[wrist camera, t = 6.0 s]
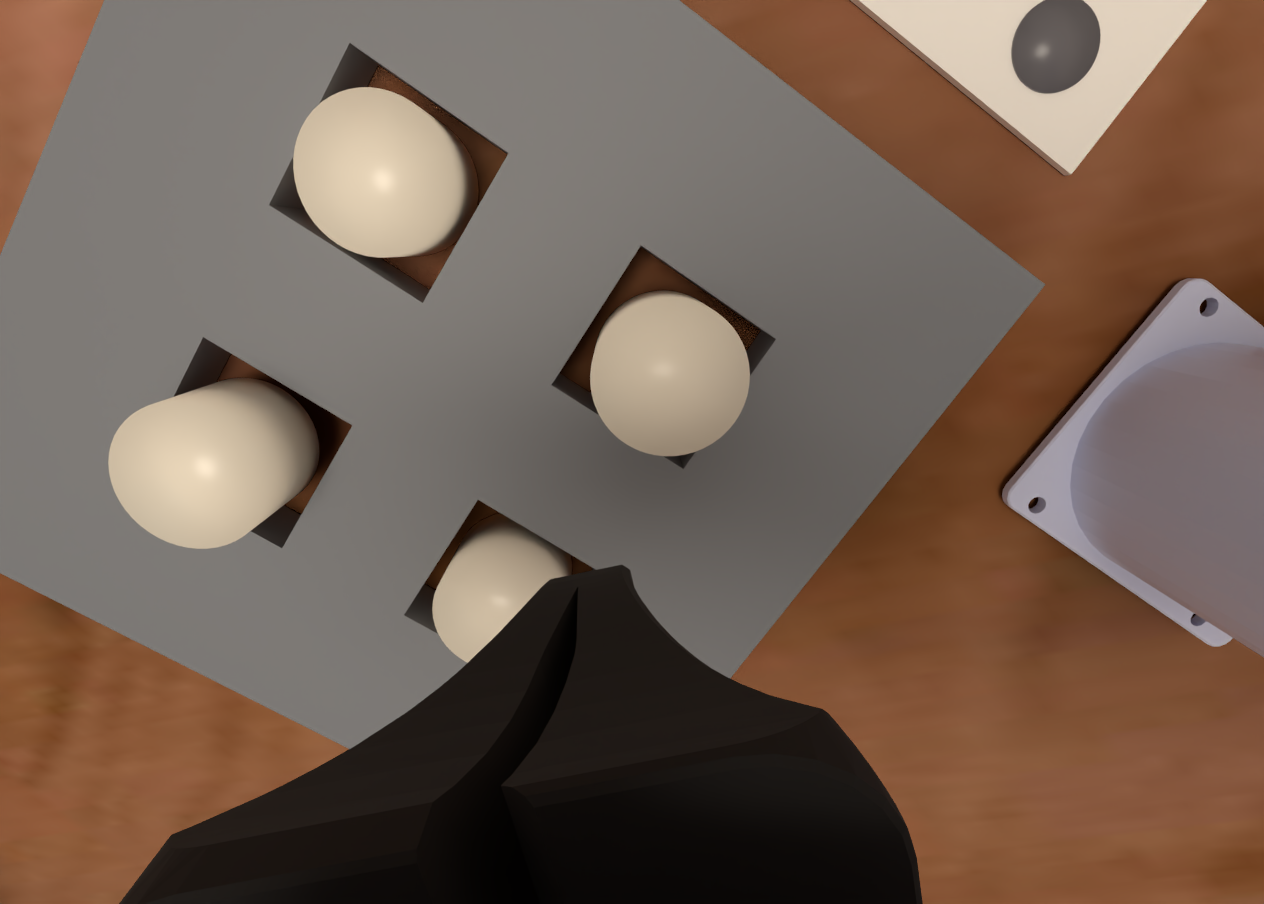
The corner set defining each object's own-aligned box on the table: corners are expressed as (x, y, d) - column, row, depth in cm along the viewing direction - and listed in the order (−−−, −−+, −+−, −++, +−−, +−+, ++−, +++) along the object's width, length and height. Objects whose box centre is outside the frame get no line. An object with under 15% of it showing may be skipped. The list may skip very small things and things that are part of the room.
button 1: (757, 340, 18) (781, 357, 16) (679, 450, 19) (689, 484, 16) (643, 262, 18) (648, 265, 15) (568, 379, 19) (559, 402, 16)
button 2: (594, 550, 22) (590, 595, 19) (533, 637, 22) (521, 692, 20) (493, 490, 21) (474, 527, 18) (434, 582, 22) (408, 630, 19)
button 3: (503, 165, 19) (483, 151, 16) (436, 282, 19) (406, 288, 17) (381, 81, 18) (338, 51, 15) (318, 205, 19) (265, 198, 16)
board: (1003, 280, 20) (1045, 284, 18) (583, 817, 25) (580, 865, 23) (287, -268, 16) (242, -339, 14) (-41, 493, 21) (-108, 518, 19)
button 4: (342, 424, 19) (295, 455, 16) (283, 528, 20) (228, 575, 17) (217, 351, 18) (145, 369, 15) (162, 461, 19) (84, 498, 16)
